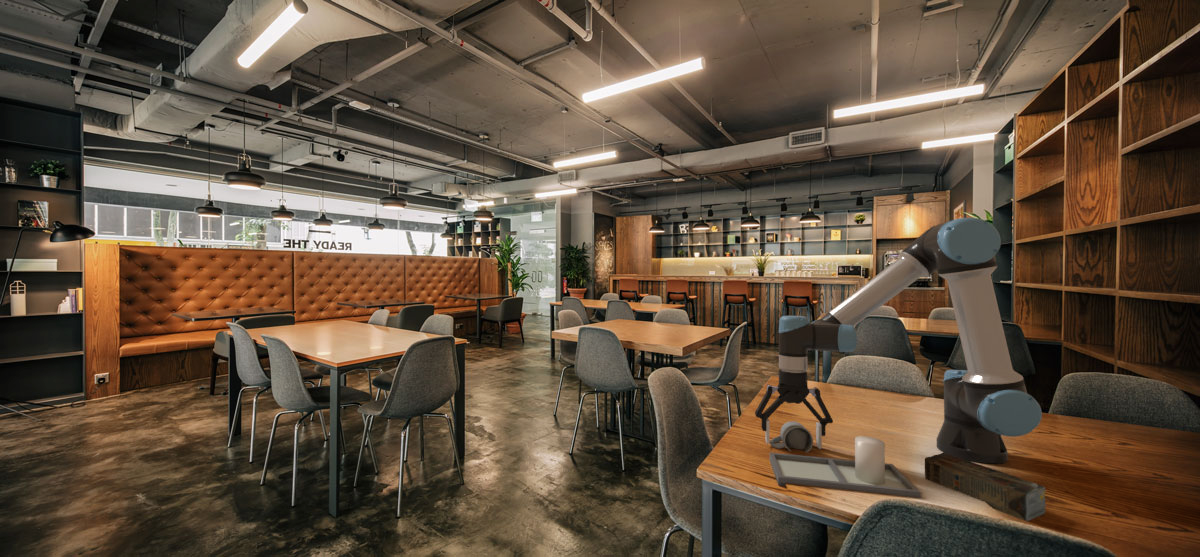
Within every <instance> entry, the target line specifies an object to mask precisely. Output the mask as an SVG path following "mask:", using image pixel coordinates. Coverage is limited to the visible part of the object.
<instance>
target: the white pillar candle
mask: <svg viewBox="0 0 1200 557" xmlns="http://www.w3.org/2000/svg"><path fill="white" fill-rule="evenodd" d="M885 444H886V442H884V441H883V440H881V439H879V438H876V437H871V436H866V435H864V436H863V435H861V436H860V435H859V436H855V438H854V461H855V477H856V478H857V479H859V480H861V481H863V482H866V483H870V484H884V483H885V458H886V456H885V454H886V453H885V452H886V451H885V449H886V448H885V446H886V445H885Z"/></svg>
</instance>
